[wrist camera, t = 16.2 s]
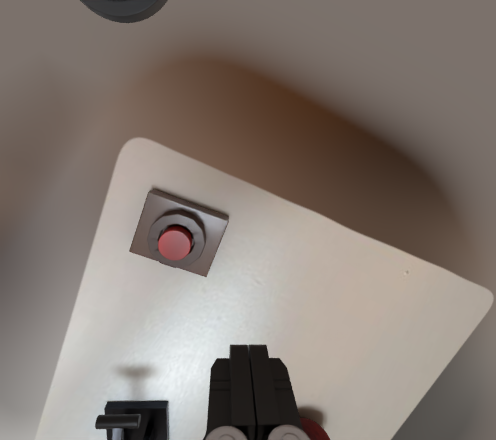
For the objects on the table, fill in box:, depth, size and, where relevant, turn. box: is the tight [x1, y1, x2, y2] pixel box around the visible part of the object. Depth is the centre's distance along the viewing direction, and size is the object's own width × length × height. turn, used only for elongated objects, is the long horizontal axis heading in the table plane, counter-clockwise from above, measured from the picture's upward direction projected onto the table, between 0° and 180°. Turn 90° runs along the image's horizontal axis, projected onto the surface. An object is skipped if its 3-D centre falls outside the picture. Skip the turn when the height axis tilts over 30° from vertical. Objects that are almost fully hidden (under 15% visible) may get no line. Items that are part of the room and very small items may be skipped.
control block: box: [129, 189, 228, 277], centre depth 37 cm, size 10×8×4 cm
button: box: [158, 226, 192, 260], centre depth 34 cm, size 4×4×2 cm
